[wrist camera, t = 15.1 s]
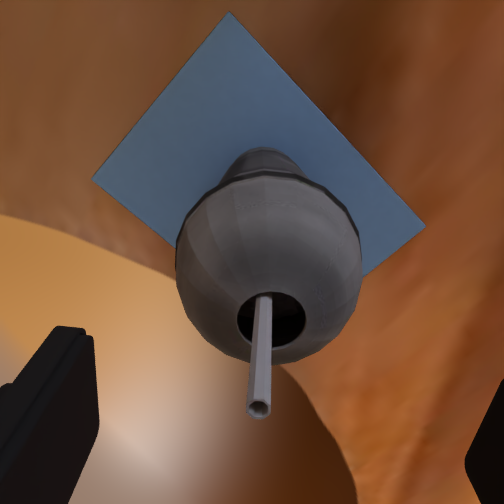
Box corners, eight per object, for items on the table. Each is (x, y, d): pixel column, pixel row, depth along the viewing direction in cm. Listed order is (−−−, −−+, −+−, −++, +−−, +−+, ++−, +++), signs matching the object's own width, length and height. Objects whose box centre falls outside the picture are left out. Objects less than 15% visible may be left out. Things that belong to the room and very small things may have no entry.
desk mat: (423, 223, 28) (426, 226, 28) (285, 335, 32) (286, 340, 32) (229, 11, 23) (228, 10, 23) (93, 177, 27) (90, 179, 27)
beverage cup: (232, 249, 29) (191, 581, 11) (187, 149, 26) (25, 369, 8) (334, 213, 27) (486, 517, 9) (299, 104, 25) (421, 239, 6)
